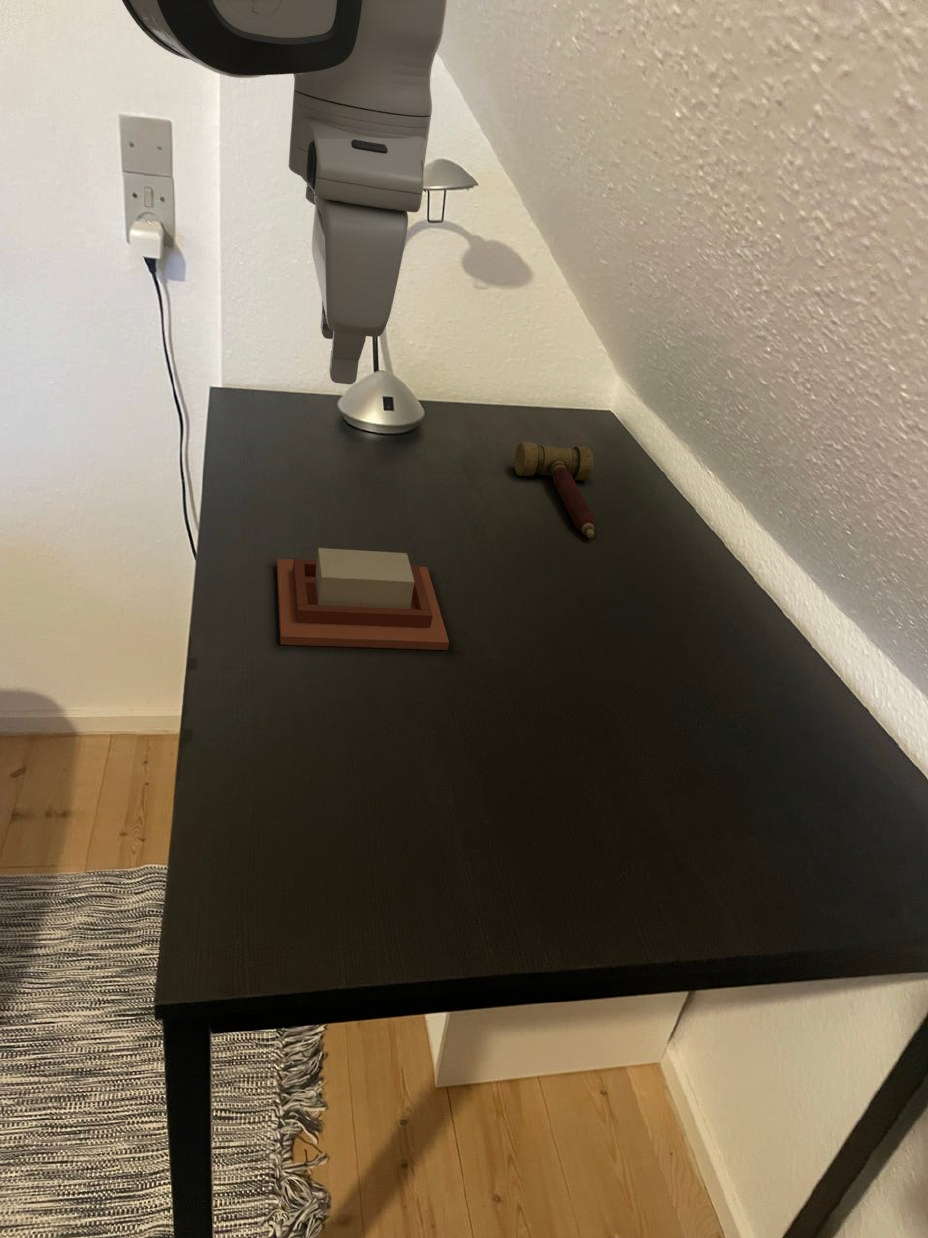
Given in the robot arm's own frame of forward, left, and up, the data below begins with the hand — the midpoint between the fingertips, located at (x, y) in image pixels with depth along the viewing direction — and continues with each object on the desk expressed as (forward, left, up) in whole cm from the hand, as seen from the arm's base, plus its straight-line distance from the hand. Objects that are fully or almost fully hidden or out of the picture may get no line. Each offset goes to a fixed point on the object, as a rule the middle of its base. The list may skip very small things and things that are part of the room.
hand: (336, 357), depth 69 cm
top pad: (+6, +11, -28) cm, 31 cm away
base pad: (+6, +11, -29) cm, 32 cm away
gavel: (+36, +38, -29) cm, 60 cm away
